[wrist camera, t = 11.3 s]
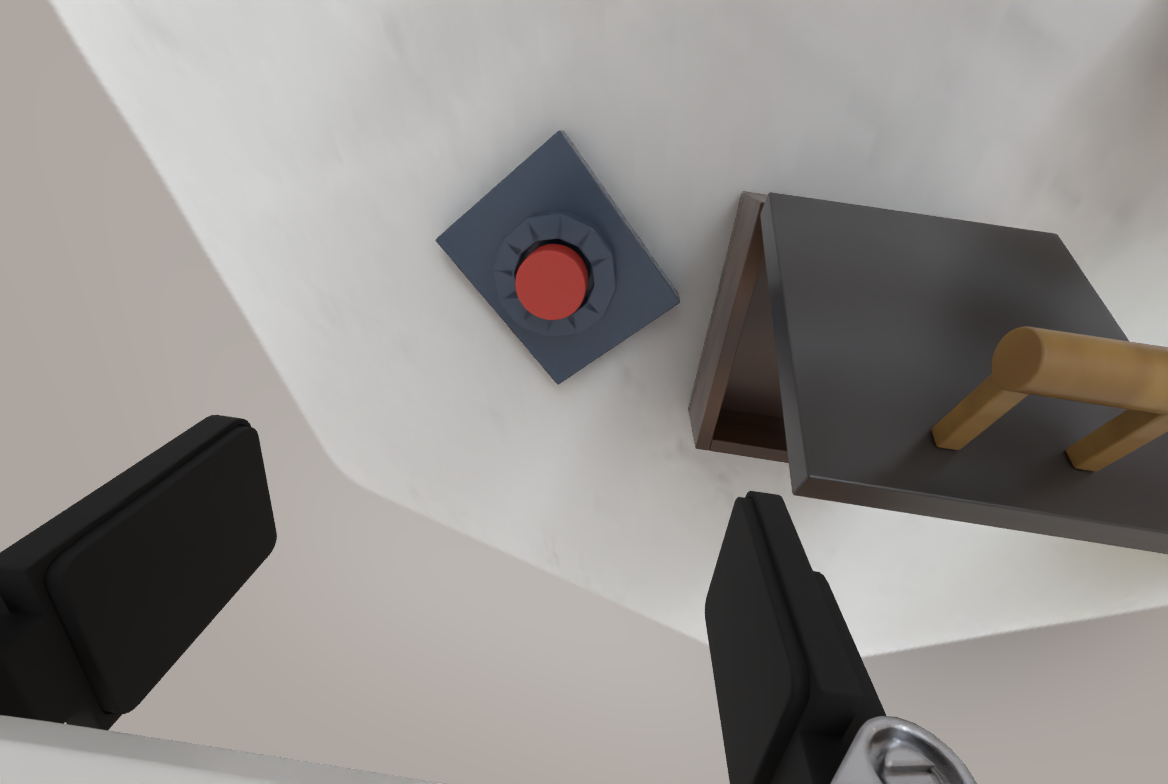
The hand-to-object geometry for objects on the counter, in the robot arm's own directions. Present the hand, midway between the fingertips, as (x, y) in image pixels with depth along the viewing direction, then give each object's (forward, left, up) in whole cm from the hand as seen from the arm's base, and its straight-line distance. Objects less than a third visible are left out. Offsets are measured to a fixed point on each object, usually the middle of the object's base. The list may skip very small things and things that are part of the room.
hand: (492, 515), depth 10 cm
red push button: (-1, -1, -20) cm, 20 cm away
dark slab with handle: (+9, +11, -11) cm, 18 cm away
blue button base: (-1, -1, -23) cm, 23 cm away
